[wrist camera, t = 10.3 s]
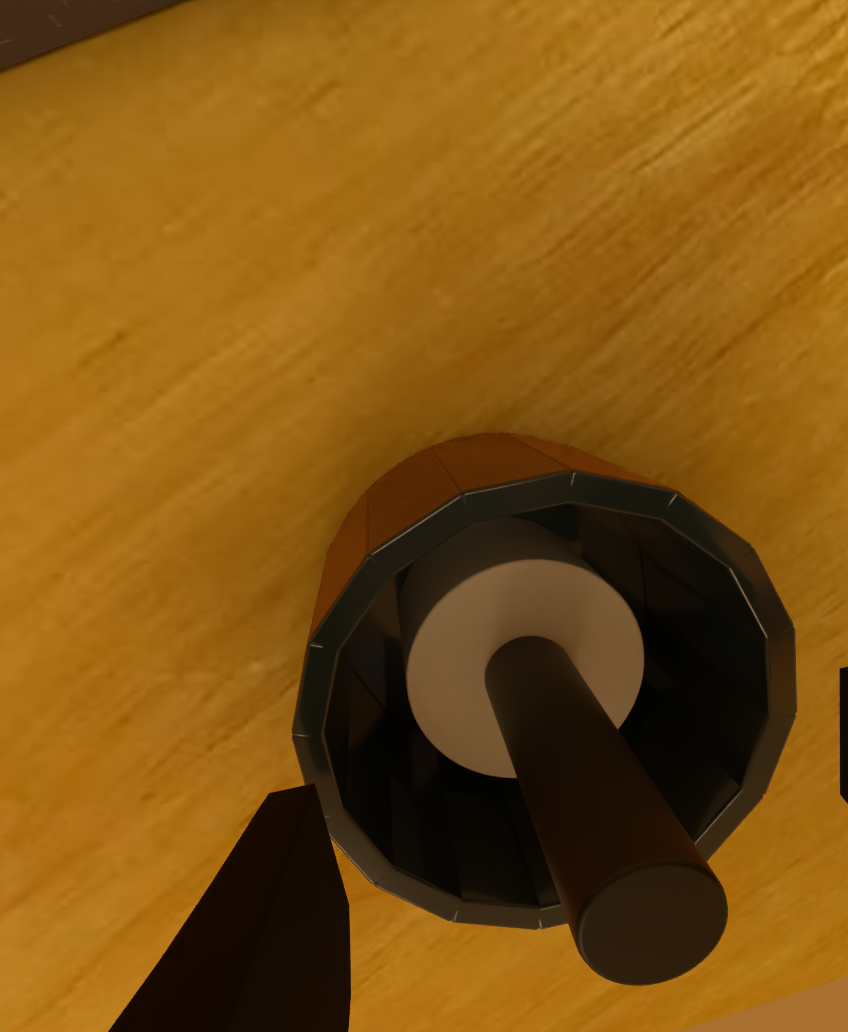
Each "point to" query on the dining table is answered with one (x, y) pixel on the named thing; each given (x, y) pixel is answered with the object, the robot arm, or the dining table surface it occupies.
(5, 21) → the electronic device
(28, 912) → the dining table surface
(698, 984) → the dining table surface
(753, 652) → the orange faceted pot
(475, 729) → the brush
